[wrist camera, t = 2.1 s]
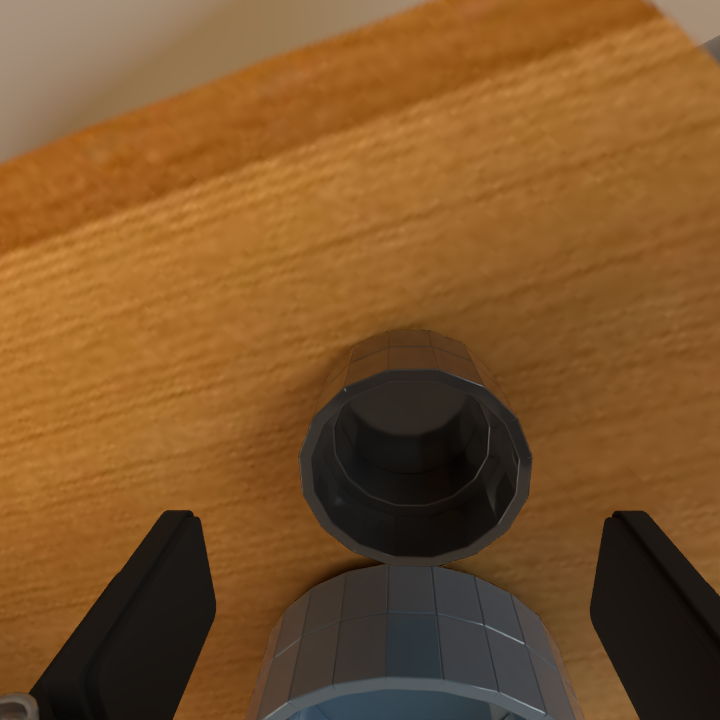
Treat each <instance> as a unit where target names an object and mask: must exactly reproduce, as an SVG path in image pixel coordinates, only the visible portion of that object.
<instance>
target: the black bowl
mask: <svg viewBox="0 0 720 720" xmlns="http://www.w3.org/2000/svg"><path fill="white" fill-rule="evenodd" d="M532 459H533V457H532V453H531V450H530V448H529V445H528V443H527V440H526V437H525V435H524V432H523V430H522V427H521V424H520V422H519V419H518V417H517V416H516V414H515V412H514V410H513V409H512V407H511V405H510V404H509V402H508V400H507V398H506V397H505V395H504V393H503V392H502V390H501V388H500V387H499V385H498V383H497V382H496V380H495V378H494V376H493V375H492V373H491V371H490V370H489V368H488V367H487V366H486V365H485V364H484V363H483V362H482V361H481V360H480V359H479V358H478V357H477V356H476V355H475V354H474V353H473V352H472V351H471V350H470V349H469V348H468V347H467V346H466V345H465V344H462V343H461V342H459V341H456V340H453V339H451V338H448V337H446V336H443V335H440V334H438V333H435V332H432V331H430V330H428V331H427V330H399V331H390V332H389V331H388V332H385V333H383V334H380V335H378V336H376V337H373V338H371V339H368V340H366V341H364V342H361V343H359V344H357V345H356V346H354V347H353V348H352V349H351V350H350V351H349V352H348V353H347V354H346V355H345V356H344V357H343V358H342V359H341V360H340V361H339V362H338V363H337V364H336V365H335V366H334V367H333V368H332V370H331V372H330V373H329V376H328V378H327V381H326V383H325V386H324V389H323V391H322V394H321V397H320V399H319V402H318V404H317V407H316V410H315V412H314V415H313V417H312V420H311V423H310V426H309V428H308V431H307V434H306V436H305V439H304V442H303V444H302V447H301V450H300V453H299V466H300V476H301V486H302V493H303V496H304V498H305V499H306V501H307V503H308V505H309V506H310V508H311V510H312V512H313V513H314V515H315V517H316V518H317V520H318V522H319V524H320V525H321V527H322V528H323V529H324V530H326V531H327V532H328V533H329V534H331V535H332V536H333V537H334V538H336V539H337V540H338V541H339V542H341V543H342V544H343V545H345V546H346V547H347V548H348V549H350V550H351V551H352V552H354V553H357V554H359V555H362V556H365V557H368V558H371V559H374V560H377V561H380V562H383V563H385V564H388V565H393V566H418V567H434V566H439V565H442V564H446V563H449V562H452V561H456V560H459V559H463V558H466V557H469V556H473V555H474V554H477V553H478V552H479V551H481V550H482V549H483V548H485V547H486V546H487V545H489V544H490V543H492V542H493V541H494V540H496V539H497V538H498V537H500V536H501V535H503V534H504V533H505V532H507V530H508V529H509V528H510V526H511V525H512V523H513V521H514V520H515V518H516V516H517V515H518V513H519V511H520V510H521V508H522V507H523V505H524V503H525V502H526V500H527V498H528V496H529V488H530V479H531V469H532Z"/></svg>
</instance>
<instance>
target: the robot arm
mask: <svg viewBox="0 0 720 720" xmlns="http://www.w3.org/2000/svg"><path fill="white" fill-rule="evenodd" d="M215 613H216V599H215V594H214V589H213V584H212V578H211V573H210V568H209V562H208V557H207V552H206V547H205V541H204V536H203V531H202V525H201V521H200V518H199V517H194V515H193V513H192V511H189V510H167V511H165V512H164V513H163V514H162V515H161V516H160V518H159V519H158V520H157V522H156V523H155V524H154V526H153V527H152V529H151V530H150V531H149V533H148V534H147V535H146V537H145V538H144V540H143V541H142V542H141V544H140V545H139V546H138V548H137V549H136V551H135V552H134V553H133V555H132V556H131V557H130V559H129V560H128V562H127V563H126V564H125V566H124V567H123V568H122V570H121V571H120V572H119V573H118V574H117V575H116V576H115V577H114V578H113V579H112V580H111V582H110V583H109V584H108V586H107V587H106V589H105V590H104V591H103V593H102V594H101V595H100V597H99V598H98V599H97V601H96V602H95V604H94V605H93V606H92V608H91V609H90V610H89V612H88V613H87V614H86V616H85V617H84V619H83V620H82V621H81V623H80V624H79V625H78V627H77V628H76V629H75V631H74V632H73V633H72V635H71V636H70V638H69V639H68V640H67V642H66V643H65V644H64V646H63V647H62V648H61V650H60V651H59V653H58V654H57V655H56V657H55V658H54V659H53V661H52V662H51V663H50V665H49V666H48V668H47V669H46V670H45V672H44V673H43V674H42V676H41V677H40V678H39V680H38V681H37V682H36V684H35V685H34V687H33V688H32V689H31V691H30V692H29V693H22V692H13V693H8V694H2V695H0V720H173V717H174V715H175V712H176V710H177V708H178V705H179V703H180V700H181V698H182V695H183V693H184V691H185V688H186V686H187V683H188V681H189V679H190V676H191V674H192V671H193V669H194V667H195V664H196V662H197V659H198V657H199V655H200V652H201V650H202V647H203V645H204V642H205V640H206V638H207V635H208V633H209V630H210V628H211V626H212V623H213V621H214V618H215ZM590 616H591V620H592V624H593V626H594V628H595V630H596V632H597V634H598V636H599V638H600V640H601V642H602V644H603V646H604V648H605V650H606V652H607V654H608V656H609V658H610V660H611V662H612V664H613V666H614V668H615V670H616V672H617V674H618V676H619V678H620V680H621V682H622V684H623V686H624V688H625V690H626V692H627V694H628V696H629V698H630V700H631V702H632V704H633V706H634V708H635V710H636V712H637V714H638V716H639V718H640V720H720V596H719V595H718V594H717V593H716V592H715V590H714V589H713V588H712V587H711V586H710V585H709V584H708V583H707V582H706V581H705V580H704V579H703V577H702V576H701V575H700V574H699V573H698V572H697V570H696V569H695V568H694V567H693V566H692V565H691V563H690V562H689V561H688V560H687V559H686V558H685V557H684V555H683V554H682V553H681V552H680V551H679V550H678V548H677V547H676V546H675V545H674V544H673V543H672V541H671V540H670V539H669V538H668V537H667V536H666V535H665V533H664V532H663V531H662V530H661V529H660V528H659V526H658V525H657V524H656V523H655V522H654V521H653V519H652V518H651V517H650V516H649V515H648V514H647V513H646V512H644V511H614V513H613V514H612V517H608V518H606V519H605V522H604V527H603V533H602V539H601V545H600V551H599V557H598V563H597V569H596V575H595V580H594V586H593V592H592V598H591V604H590Z"/></svg>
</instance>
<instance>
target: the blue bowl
mask: <svg viewBox="0 0 720 720" xmlns="http://www.w3.org/2000/svg"><path fill="white" fill-rule="evenodd" d="M245 720H585V718H584V716H583V713H582V710H581V707H580V705H579V702H578V700H577V697H576V694H575V691H574V689H573V686H572V683H571V681H570V678H569V675H568V673H567V670H566V667H565V665H564V662H563V659H562V656H561V654H560V651H559V648H558V646H557V643H556V642H555V640H554V639H553V637H552V636H551V634H550V633H549V631H548V630H547V628H546V627H545V625H544V623H543V622H542V620H541V619H540V618H539V616H538V615H537V614H535V613H534V612H533V611H532V610H531V609H529V608H528V607H527V606H526V605H525V604H523V603H522V602H521V601H520V600H519V599H517V598H516V597H515V596H514V595H513V594H512V593H509V592H508V591H505V590H503V589H501V588H499V587H497V586H495V585H493V584H491V583H489V582H487V581H485V580H483V579H480V578H478V577H476V576H473V575H472V574H468V573H463V572H459V571H455V570H451V569H446V568H442V567H438V566H434V567H418V566H393V565H388V564H384V565H378V566H373V567H368V568H362V569H357V570H352V571H348V572H345V573H343V574H341V575H338V576H336V577H334V578H332V579H329V580H327V581H325V582H323V583H320V584H318V585H316V586H314V587H313V588H311V589H310V590H308V591H307V592H306V593H305V594H304V595H302V596H301V597H300V598H299V599H297V600H296V601H295V602H294V603H293V604H291V605H290V606H289V607H288V608H286V609H285V611H284V613H283V614H282V616H281V617H280V619H279V620H278V622H277V624H276V625H275V627H274V628H273V630H272V631H271V633H270V636H269V639H268V643H267V646H266V650H265V653H264V657H263V660H262V664H261V667H260V671H259V674H258V677H257V681H256V684H255V688H254V691H253V695H252V698H251V702H250V705H249V709H248V712H247V716H246V719H245Z"/></svg>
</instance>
